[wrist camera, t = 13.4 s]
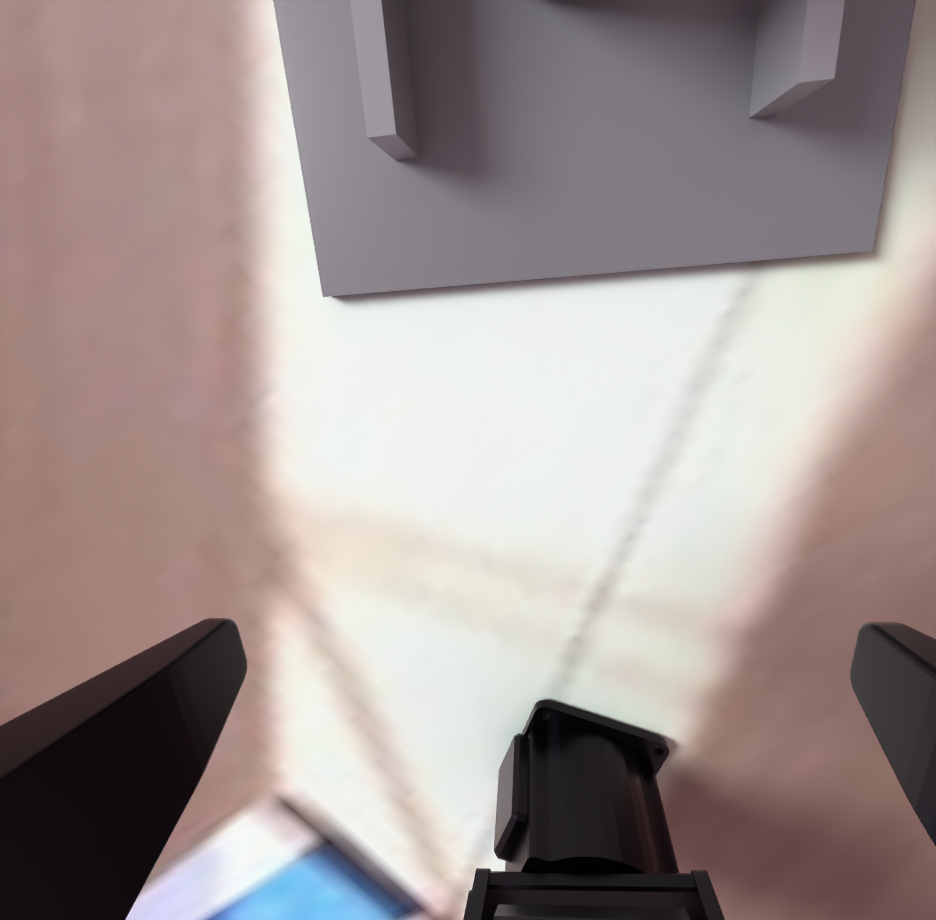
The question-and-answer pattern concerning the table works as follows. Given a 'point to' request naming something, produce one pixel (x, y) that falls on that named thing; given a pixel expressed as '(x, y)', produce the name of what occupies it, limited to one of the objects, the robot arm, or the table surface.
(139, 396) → the table surface
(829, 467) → the table surface
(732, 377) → the table surface
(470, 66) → the bottle holder
